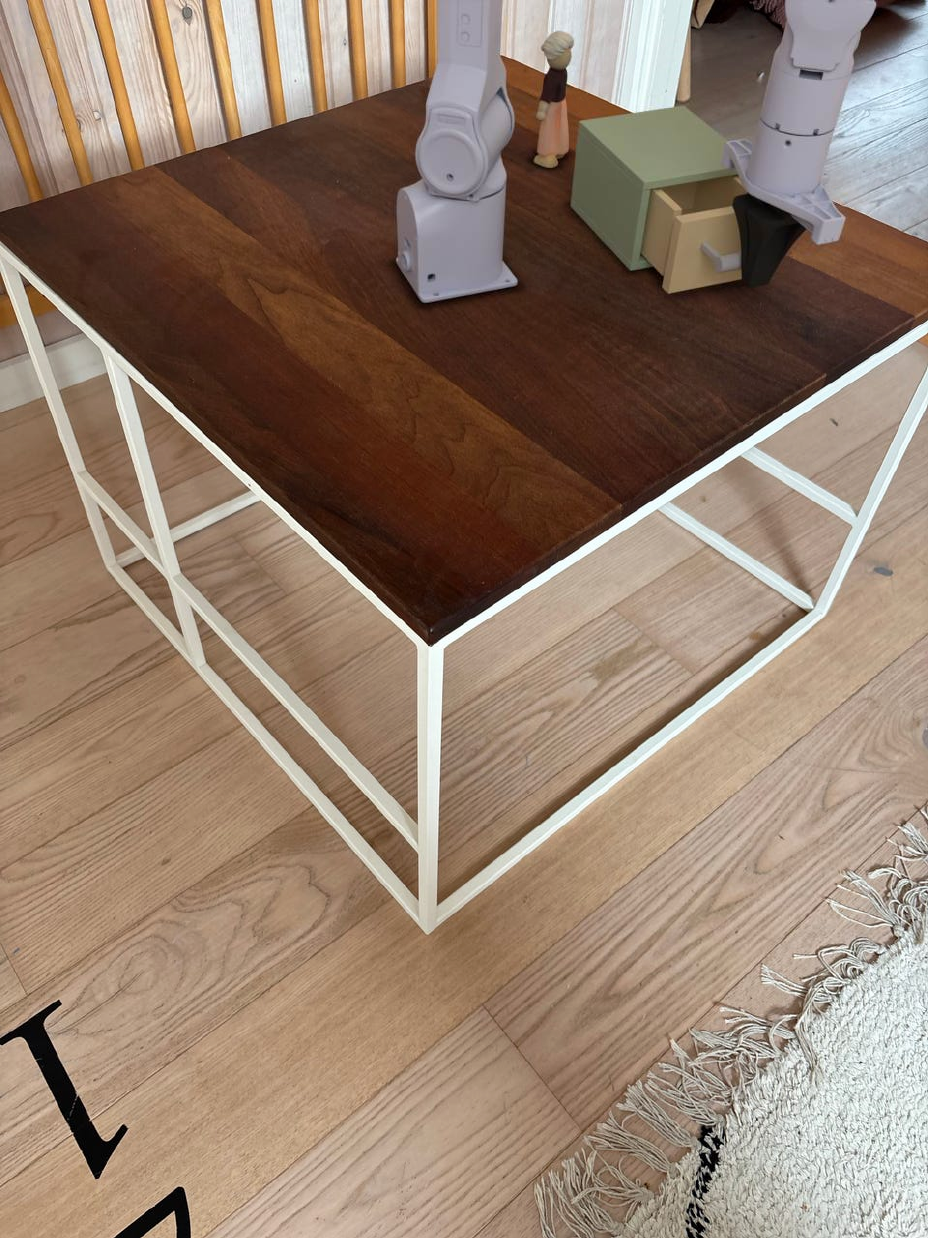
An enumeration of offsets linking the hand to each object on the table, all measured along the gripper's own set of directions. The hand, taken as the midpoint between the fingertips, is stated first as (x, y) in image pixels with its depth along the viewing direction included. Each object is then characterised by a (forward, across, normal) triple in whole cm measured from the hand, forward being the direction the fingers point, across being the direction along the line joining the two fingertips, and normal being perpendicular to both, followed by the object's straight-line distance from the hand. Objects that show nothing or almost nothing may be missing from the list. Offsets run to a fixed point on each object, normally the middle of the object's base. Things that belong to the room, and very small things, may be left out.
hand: (755, 282), depth 86 cm
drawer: (+3, +9, 0) cm, 10 cm away
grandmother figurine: (+4, +36, +3) cm, 36 cm away
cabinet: (+4, +18, 0) cm, 18 cm away
